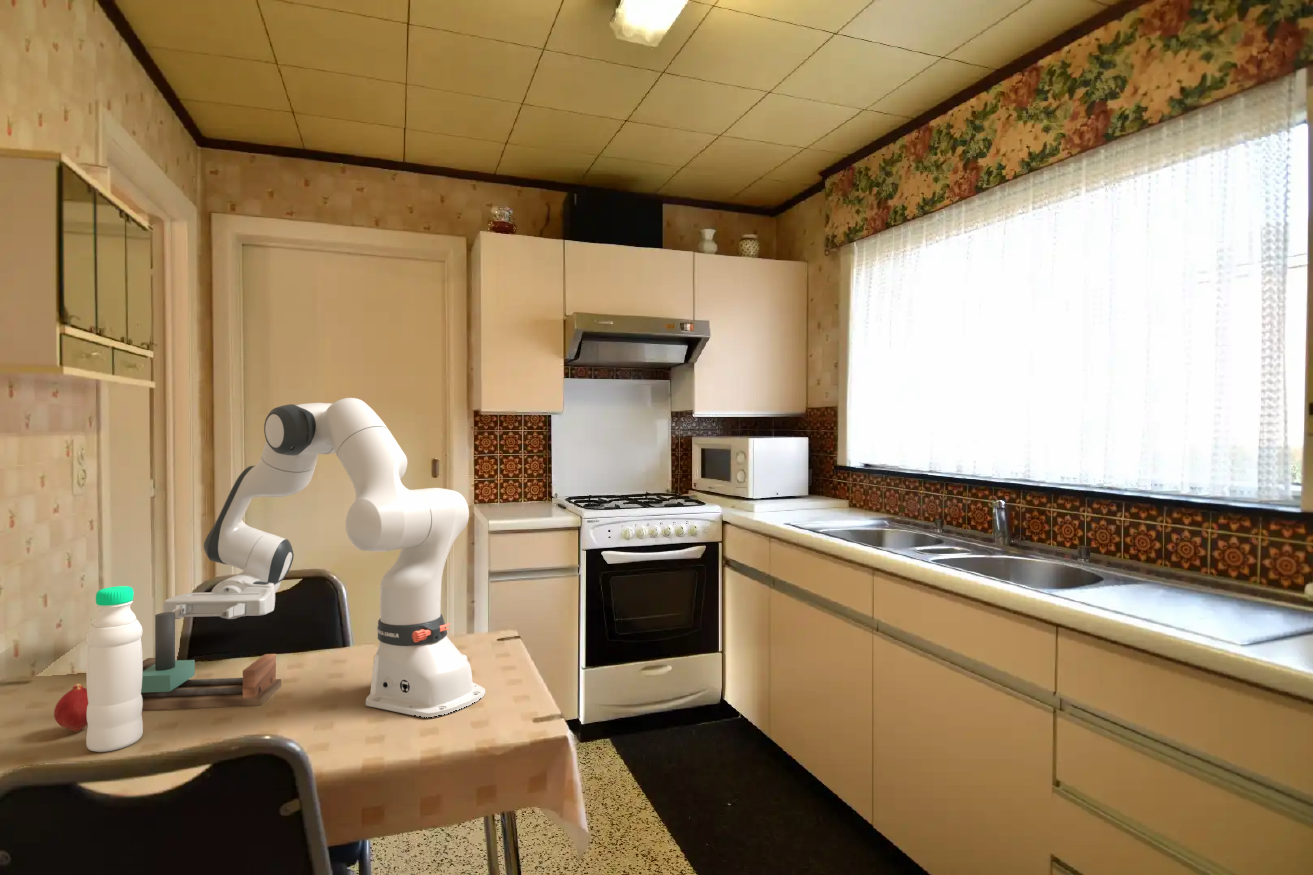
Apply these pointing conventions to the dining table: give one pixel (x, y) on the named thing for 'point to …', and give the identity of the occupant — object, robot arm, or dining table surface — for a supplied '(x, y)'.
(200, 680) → the rail
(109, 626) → the white bottle
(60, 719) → the onion
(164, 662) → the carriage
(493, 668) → the dining table surface
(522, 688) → the dining table surface
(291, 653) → the dining table surface
